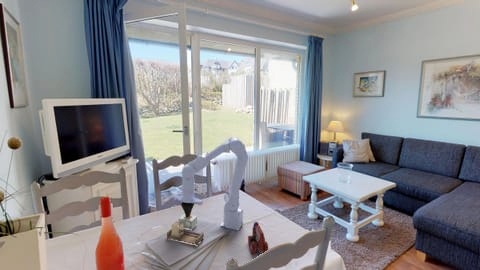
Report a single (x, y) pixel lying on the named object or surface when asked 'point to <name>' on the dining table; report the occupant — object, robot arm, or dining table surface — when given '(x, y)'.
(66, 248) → the dining table surface
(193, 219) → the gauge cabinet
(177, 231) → the block
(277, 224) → the dining table surface
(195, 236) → the rail deck
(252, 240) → the toy fire truck
